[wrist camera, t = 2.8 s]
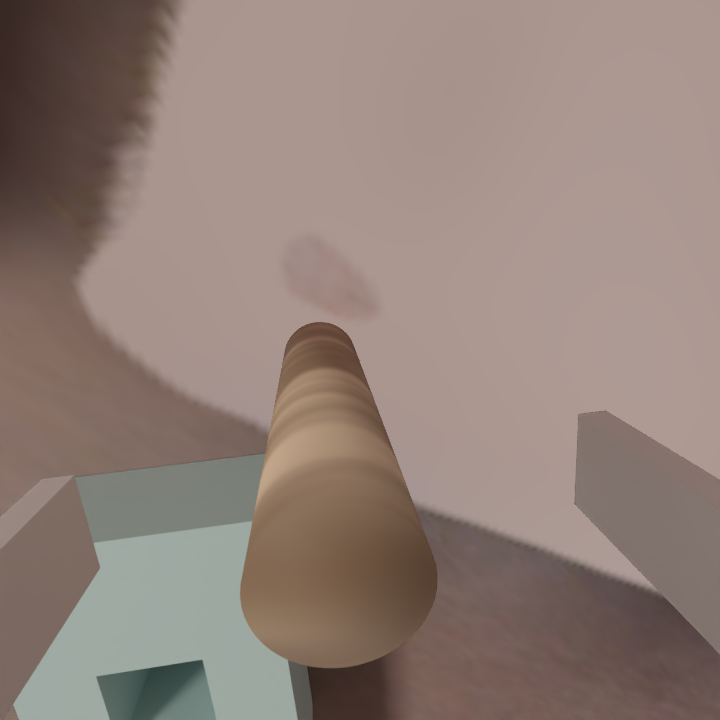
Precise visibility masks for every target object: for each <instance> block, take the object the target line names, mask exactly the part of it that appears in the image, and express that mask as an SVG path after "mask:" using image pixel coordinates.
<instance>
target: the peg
mask: <svg viewBox="0 0 720 720" xmlns="http://www.w3.org/2000/svg"><path fill="white" fill-rule="evenodd" d="M436 590H437V569H436V564H435V561H434V557H433V554H432V552H431V549H430V546H429V544H428V541H427V538H426V536H425V533H424V530H423V528H422V525H421V522H420V520H419V517H418V515H417V512H416V509H415V507H414V504H413V501H412V499H411V496H410V493H409V491H408V488H407V486H406V483H405V480H404V478H403V475H402V472H401V470H400V467H399V464H398V462H397V459H396V456H395V454H394V451H393V449H392V446H391V443H390V441H389V438H388V435H387V433H386V430H385V427H384V425H383V422H382V419H381V417H380V414H379V412H378V409H377V406H376V404H375V401H374V398H373V396H372V393H371V391H370V388H369V385H368V383H367V380H366V378H365V375H364V372H363V369H362V367H361V364H360V361H359V359H358V356H357V353H356V351H355V348H354V346H353V343H352V341H351V339H350V338H349V336H348V335H347V334H346V333H345V332H344V331H343V330H342V329H340V328H339V327H337V326H335V325H333V324H330V323H325V322H315V323H310V324H307V325H305V326H303V327H301V328H299V329H298V330H297V331H296V332H295V333H294V334H293V335H292V336H291V337H290V339H289V341H288V343H287V345H286V349H285V353H284V359H283V364H282V369H281V374H280V380H279V385H278V390H277V395H276V401H275V406H274V411H273V416H272V422H271V427H270V432H269V437H268V443H267V448H266V453H265V458H264V464H263V469H262V474H261V479H260V485H259V490H258V495H257V500H256V506H255V511H254V516H253V521H252V527H251V532H250V537H249V542H248V548H247V553H246V558H245V563H244V569H243V574H242V579H241V585H240V600H241V607H242V611H243V614H244V617H245V619H246V622H247V624H248V626H249V627H250V629H251V630H252V632H253V633H254V635H255V636H256V637H257V638H258V639H259V640H260V641H261V643H262V644H264V645H265V646H266V647H267V648H268V649H270V650H271V651H273V652H274V653H276V654H277V655H279V656H281V657H283V658H285V659H287V660H289V661H292V662H295V663H298V664H301V665H306V666H311V667H318V668H343V667H351V666H356V665H360V664H364V663H367V662H370V661H373V660H376V659H378V658H380V657H382V656H385V655H386V654H388V653H390V652H392V651H393V650H395V649H396V648H398V647H399V646H401V645H402V644H403V643H405V642H406V641H407V640H408V639H409V638H410V637H411V636H412V635H413V634H414V633H415V632H416V631H417V630H418V629H419V628H420V626H421V625H422V624H423V622H424V621H425V619H426V618H427V616H428V614H429V612H430V610H431V608H432V605H433V602H434V599H435V595H436Z"/></svg>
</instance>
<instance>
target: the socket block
mask: <svg viewBox="0 0 720 720" xmlns="http://www.w3.org/2000/svg"><path fill="white" fill-rule="evenodd" d="M264 458H265V454H257V455H249V456H241V457H233V458H225V459H217V460H210V461H202V462H194V463H186V464H178V465H170V466H162V467H154V468H146V469H138V470H130V471H122V472H114V473H106V474H98V475H90V476H82V477H75V480H76V483H77V487H78V490H79V494H80V497H81V501H82V504H83V508H84V512H85V515H86V519H87V522H88V526H89V529H90V533H91V536H92V540H93V543H94V547H95V551H96V554H97V558H98V561H99V565H100V569H99V571H98V572H97V574H96V575H95V577H94V579H93V580H92V582H91V583H90V585H89V586H88V588H87V589H86V591H85V593H84V594H83V596H82V597H81V599H80V600H79V602H78V604H77V605H76V607H75V608H74V610H73V611H72V613H71V614H70V616H69V618H68V619H67V621H66V622H65V624H64V625H63V627H62V629H61V630H60V632H59V633H58V635H57V636H56V638H55V639H54V641H53V643H52V644H51V646H50V647H49V649H48V650H47V652H46V654H45V655H44V657H43V658H42V660H41V661H40V663H39V665H38V666H37V668H36V669H35V671H34V672H33V674H32V675H31V677H30V679H29V680H28V682H27V683H26V685H25V686H24V688H23V690H22V691H21V693H20V694H19V696H18V697H17V699H16V700H15V702H14V704H13V705H14V708H15V711H16V713H17V716H18V718H19V720H313V702H312V696H311V689H310V683H309V676H308V670H307V666H306V665H301V664H298V663H295V662H292V661H289V660H287V659H285V658H283V657H281V656H279V655H277V654H276V653H274V652H273V651H271V650H270V649H268V648H267V647H266V646H265V645H264V644H262V643H261V641H260V640H259V639H258V638H257V637H256V636H255V635H254V633H253V632H252V630H251V629H250V627H249V626H248V624H247V622H246V619H245V617H244V614H243V611H242V607H241V600H240V585H241V579H242V574H243V569H244V563H245V558H246V553H247V548H248V542H249V537H250V532H251V527H252V521H253V516H254V511H255V506H256V500H257V495H258V490H259V485H260V479H261V474H262V469H263V464H264Z"/></svg>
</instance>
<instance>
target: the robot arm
mask: <svg viewBox="0 0 720 720" xmlns="http://www.w3.org/2000/svg"><path fill="white" fill-rule="evenodd" d="M575 505H576V506H578V508H579V509H580V510H581V511H582V512H583V513H584V514H585V515H586V516H587V517H588V518H589V519H590V520H591V521H592V522H593V523H594V524H595V525H596V526H597V527H598V529H599V530H601V532H602V533H604V535H605V536H606V537H607V538H608V539H609V540H610V541H611V542H612V543H613V544H614V545H615V546H616V547H617V548H618V549H619V550H620V551H621V552H622V553H623V554H624V555H625V556H626V558H628V560H629V561H630V562H631V563H632V564H633V565H634V566H635V567H636V568H637V569H638V570H639V571H640V572H641V573H642V574H643V575H644V576H645V577H646V578H647V579H648V580H649V581H650V582H651V583H652V584H653V586H654V587H655V588H656V589H657V590H658V591H659V592H660V593H661V594H662V595H663V596H664V597H665V598H666V599H667V600H668V601H669V602H670V603H671V604H672V605H673V606H674V607H675V608H676V609H677V610H678V611H679V612H680V614H681V615H682V616H683V617H684V618H685V619H686V620H687V621H688V622H689V623H690V624H691V625H692V626H693V627H694V628H695V629H696V630H697V631H698V632H699V633H700V634H701V635H702V636H703V637H704V638H705V639H706V640H707V642H708V643H709V644H710V645H711V646H712V647H713V648H714V649H715V650H716V651H717V652H718V653H719V654H720V480H719V479H717V478H716V477H714V476H712V475H711V474H709V473H707V472H706V471H704V470H703V469H701V468H699V467H698V466H696V465H694V464H692V463H691V462H689V461H688V460H686V459H684V458H683V457H681V456H679V455H678V454H676V453H674V452H673V451H671V450H670V449H668V448H666V447H665V446H663V445H661V444H659V443H658V442H656V441H655V440H653V439H651V438H650V437H648V436H647V435H645V434H643V433H642V432H640V431H638V430H637V429H635V428H633V427H632V426H630V425H628V424H627V423H625V422H623V421H622V420H620V419H619V418H617V417H615V416H613V415H612V414H610V413H608V412H607V411H599V412H591V413H583V414H579V415H578V436H577V460H576V483H575ZM99 569H100V565H99V561H98V558H97V554H96V551H95V547H94V543H93V540H92V536H91V533H90V529H89V526H88V522H87V519H86V515H85V512H84V508H83V504H82V501H81V497H80V494H79V490H78V487H77V483H76V480H75V476H74V475H71V476H63V477H55V478H47V479H42V480H41V481H40V482H39V483H37V484H36V485H35V486H34V487H33V488H32V489H31V490H30V491H29V492H27V493H26V494H25V495H24V496H23V497H22V498H21V499H20V500H19V501H18V502H16V503H15V504H14V505H13V506H12V507H11V508H10V509H9V510H8V511H6V512H5V513H4V514H3V515H2V516H1V517H0V720H3V719H4V718H5V716H6V715H7V713H8V711H9V710H10V708H11V707H12V705H13V704H14V702H15V700H16V699H17V697H18V696H19V694H20V693H21V691H22V690H23V688H24V686H25V685H26V683H27V682H28V680H29V679H30V677H31V675H32V674H33V672H34V671H35V669H36V668H37V666H38V665H39V663H40V661H41V660H42V658H43V657H44V655H45V654H46V652H47V650H48V649H49V647H50V646H51V644H52V643H53V641H54V639H55V638H56V636H57V635H58V633H59V632H60V630H61V629H62V627H63V625H64V624H65V622H66V621H67V619H68V618H69V616H70V614H71V613H72V611H73V610H74V608H75V607H76V605H77V604H78V602H79V600H80V599H81V597H82V596H83V594H84V593H85V591H86V589H87V588H88V586H89V585H90V583H91V582H92V580H93V579H94V577H95V575H96V574H97V572H98V571H99Z"/></svg>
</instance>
